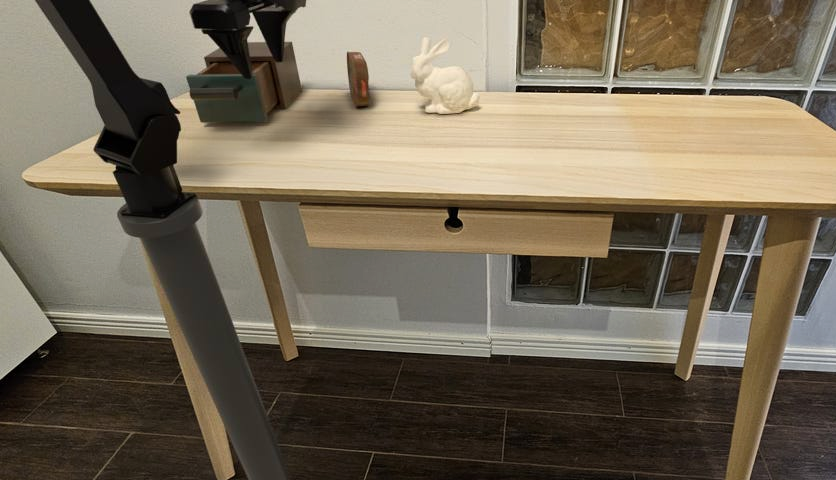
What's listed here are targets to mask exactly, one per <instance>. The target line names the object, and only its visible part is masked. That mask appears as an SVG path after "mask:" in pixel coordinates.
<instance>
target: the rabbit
mask: <svg viewBox="0 0 836 480" xmlns="http://www.w3.org/2000/svg"><path fill="white" fill-rule="evenodd" d="M451 44H452V42H451V39H450V38H448V37H444V38H443V39H442V40H441V41H440V42H438V43H437V44H435V45H434V46H433V47H432V48H431V49H430V47H431V45H432V39H431V37H429V36H425V37H424V38H422V41H421V46H420V47H421V48H420V54H419V55H416V56H413V57H412V58H411V69H410V76H411V78H412V79H414V86H415V88H416V91H417V92H418V93H419V95H420V96H422V97H423V98H424V99H426V100H430V101H427V102H426V103H425V105H424V108H425V109H424V111H425V113H427V114H434V113H436V114H439V115H449V114H460V113H462V112H463V111H466V110H470V109H472V108H474V107H475V106H477V105H478V103H479V102H480V94H479V93H478V92H474V82H473V79H472V77H471V76H470V74H469V73H468V71H466V70H465V69H464V68H462V67H461V66H457V65H452V66H451V65H450V66H447V67H443V68H440V67H438V66H434V65H433V62H432V61H433V60H435V59H436V58H438V57H439V56H441V55H442V54H444V53H446V52H447V51H449V50H450V48H451V46H452V45H451Z"/></svg>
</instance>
